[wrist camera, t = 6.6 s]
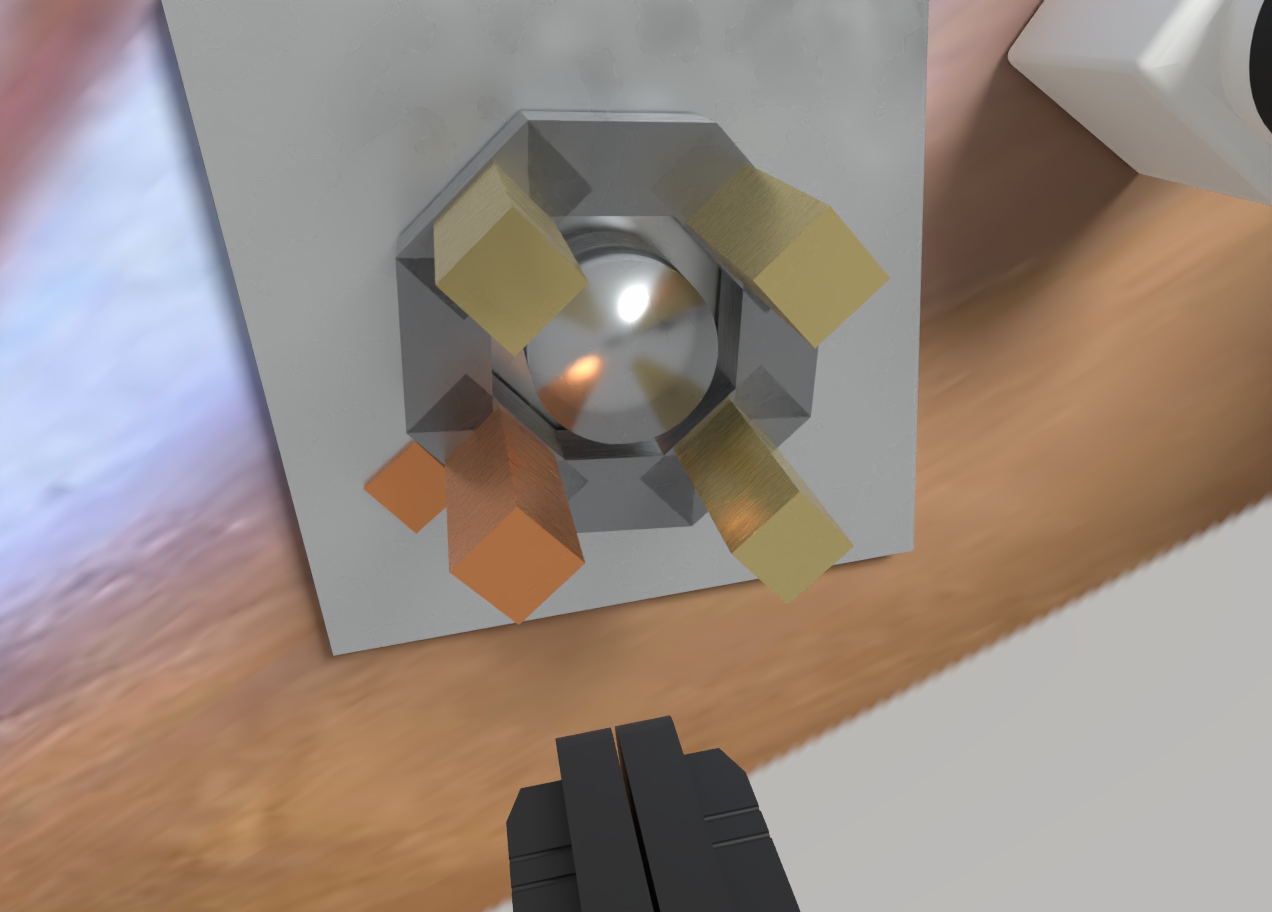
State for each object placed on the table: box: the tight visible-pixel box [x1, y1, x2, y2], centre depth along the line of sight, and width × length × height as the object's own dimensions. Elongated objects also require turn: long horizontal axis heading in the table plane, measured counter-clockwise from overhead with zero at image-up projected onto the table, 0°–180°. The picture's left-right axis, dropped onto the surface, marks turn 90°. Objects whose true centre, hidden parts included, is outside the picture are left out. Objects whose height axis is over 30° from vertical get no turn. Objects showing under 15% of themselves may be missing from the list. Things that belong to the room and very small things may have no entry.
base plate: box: [161, 0, 929, 656], centre depth 32 cm, size 22×22×5 cm
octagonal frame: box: [395, 111, 890, 625], centre depth 29 cm, size 13×13×9 cm
